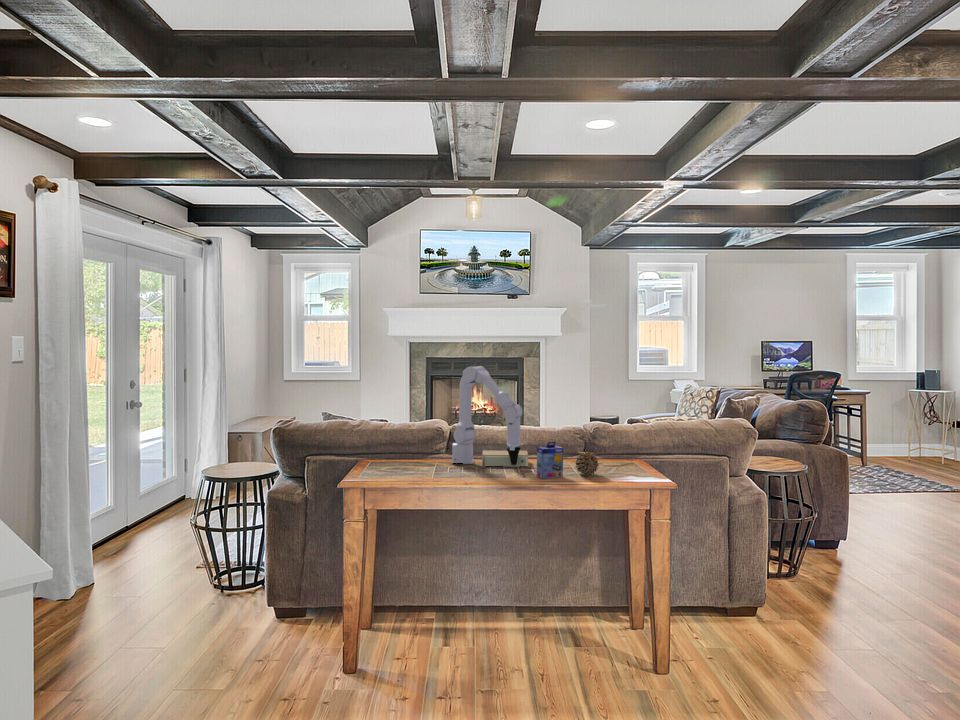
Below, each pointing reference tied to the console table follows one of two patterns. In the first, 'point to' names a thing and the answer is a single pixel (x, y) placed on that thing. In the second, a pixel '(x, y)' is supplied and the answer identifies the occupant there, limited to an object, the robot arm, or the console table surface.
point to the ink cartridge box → (549, 461)
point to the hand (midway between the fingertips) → (513, 464)
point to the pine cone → (586, 463)
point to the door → (503, 461)
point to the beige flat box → (503, 453)
